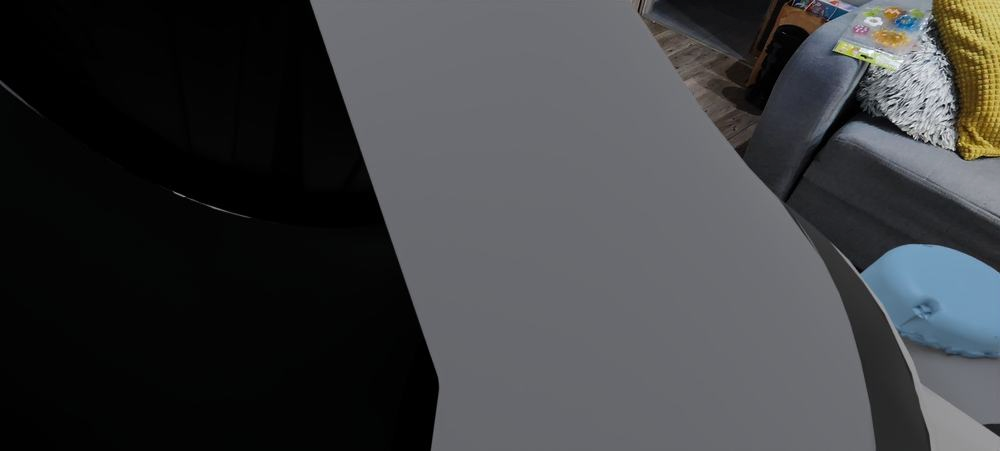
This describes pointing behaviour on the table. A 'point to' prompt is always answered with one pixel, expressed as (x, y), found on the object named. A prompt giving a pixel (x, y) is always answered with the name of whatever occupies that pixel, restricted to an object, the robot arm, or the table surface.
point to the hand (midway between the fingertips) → (547, 193)
